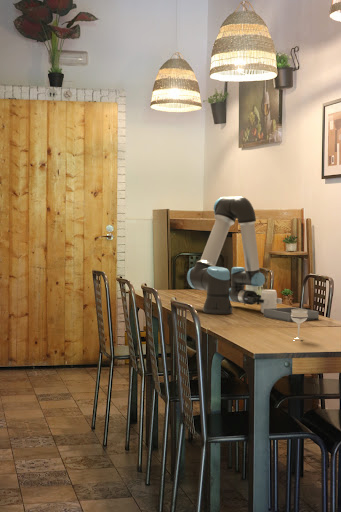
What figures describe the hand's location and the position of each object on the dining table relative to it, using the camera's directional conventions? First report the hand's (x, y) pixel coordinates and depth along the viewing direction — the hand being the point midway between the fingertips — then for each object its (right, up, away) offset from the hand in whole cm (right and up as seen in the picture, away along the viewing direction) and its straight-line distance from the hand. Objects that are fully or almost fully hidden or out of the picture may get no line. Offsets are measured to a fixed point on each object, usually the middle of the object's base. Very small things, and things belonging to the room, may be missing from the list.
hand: (274, 301), depth 368 cm
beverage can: (-3, -6, +4) cm, 8 cm away
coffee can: (-4, -4, +54) cm, 55 cm away
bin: (+6, -7, -14) cm, 17 cm away
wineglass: (-2, -10, -80) cm, 81 cm away
